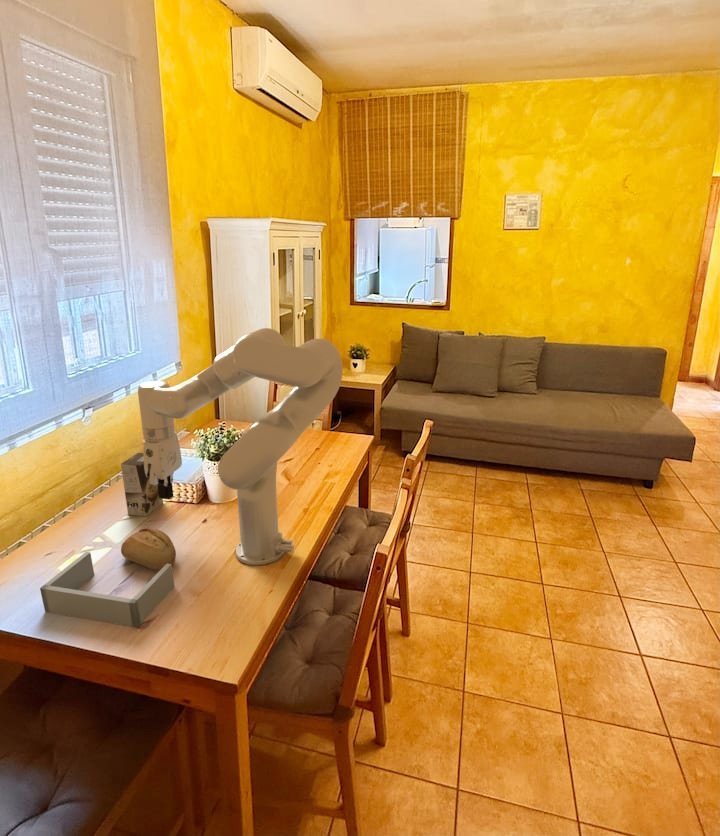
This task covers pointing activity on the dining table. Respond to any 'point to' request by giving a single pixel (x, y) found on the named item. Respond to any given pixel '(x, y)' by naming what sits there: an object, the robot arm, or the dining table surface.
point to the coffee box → (139, 487)
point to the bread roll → (149, 548)
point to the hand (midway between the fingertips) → (166, 497)
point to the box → (102, 596)
